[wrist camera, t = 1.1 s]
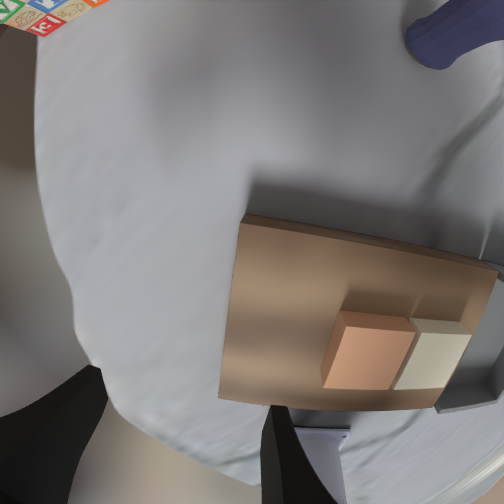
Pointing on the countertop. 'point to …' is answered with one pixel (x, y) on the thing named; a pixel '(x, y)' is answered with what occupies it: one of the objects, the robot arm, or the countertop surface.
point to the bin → (480, 359)
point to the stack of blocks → (43, 13)
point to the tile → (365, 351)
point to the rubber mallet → (455, 31)
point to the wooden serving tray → (332, 308)
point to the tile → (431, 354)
